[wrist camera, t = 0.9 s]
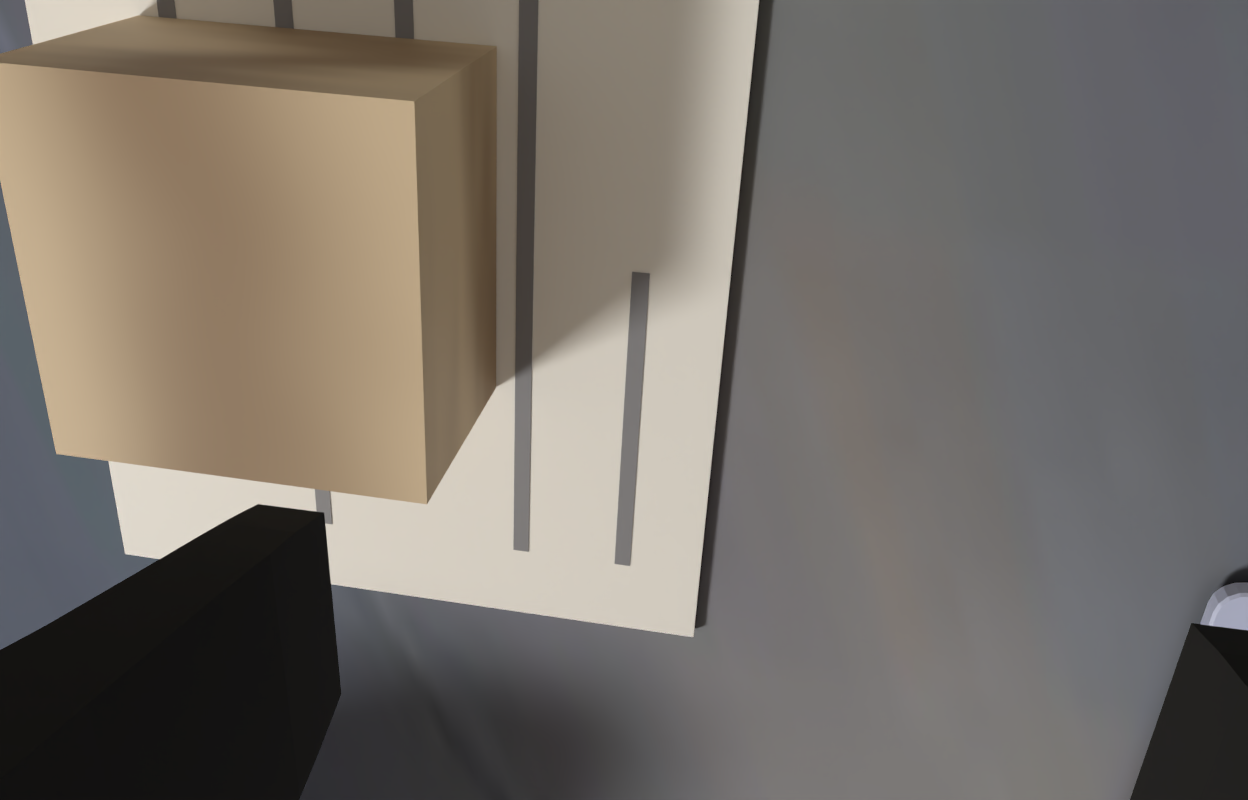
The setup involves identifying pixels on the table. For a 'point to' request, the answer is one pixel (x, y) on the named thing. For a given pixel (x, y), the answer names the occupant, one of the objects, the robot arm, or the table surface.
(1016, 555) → the table surface
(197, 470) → the oak block
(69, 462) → the table surface
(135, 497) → the letter
